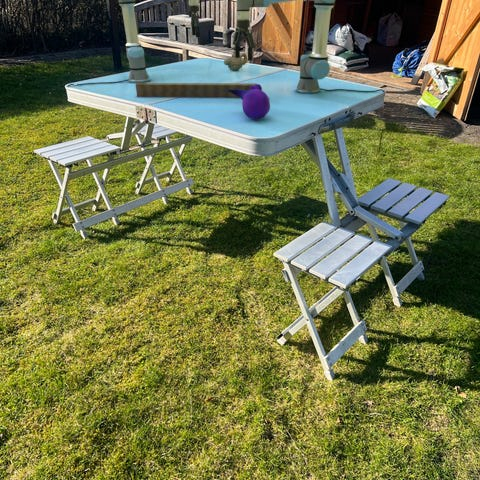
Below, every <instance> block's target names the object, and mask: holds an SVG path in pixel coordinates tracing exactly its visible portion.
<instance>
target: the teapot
mask: <svg viewBox="0 0 480 480" xmlns="http://www.w3.org/2000/svg"><path fill="white" fill-rule="evenodd" d="M242 58H243V60H242ZM247 63H248V54H247V53H246V52H242V53H240V58H235V50H233V53H232V54H231V57H226V58H225V59H224V60H223V64H224V65H225V66H227V67H228V69H229V71H231V72H237V71H240V69H242V68H243V66H244V65H246V64H247Z"/></svg>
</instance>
